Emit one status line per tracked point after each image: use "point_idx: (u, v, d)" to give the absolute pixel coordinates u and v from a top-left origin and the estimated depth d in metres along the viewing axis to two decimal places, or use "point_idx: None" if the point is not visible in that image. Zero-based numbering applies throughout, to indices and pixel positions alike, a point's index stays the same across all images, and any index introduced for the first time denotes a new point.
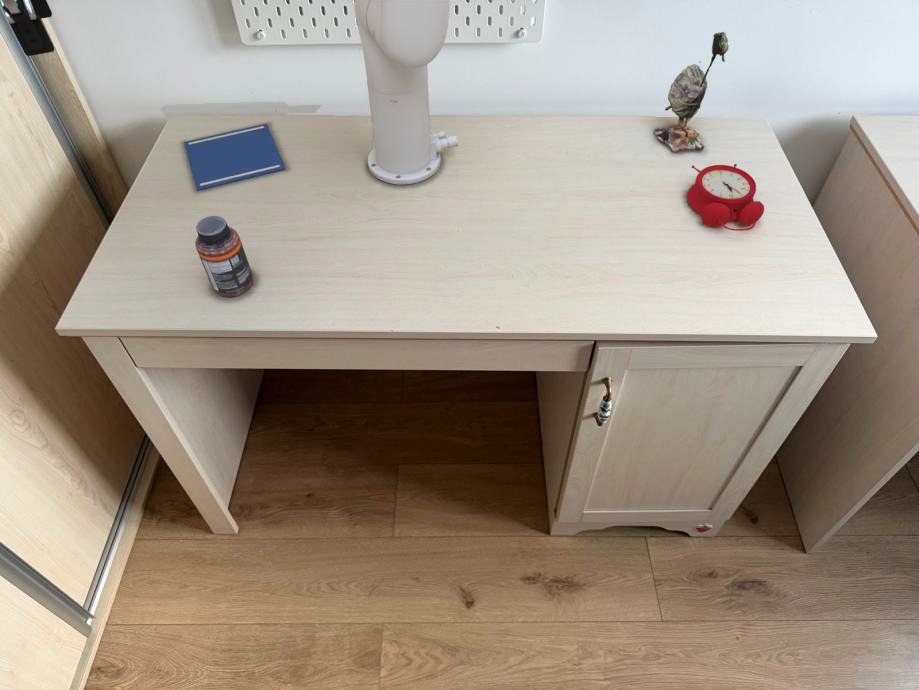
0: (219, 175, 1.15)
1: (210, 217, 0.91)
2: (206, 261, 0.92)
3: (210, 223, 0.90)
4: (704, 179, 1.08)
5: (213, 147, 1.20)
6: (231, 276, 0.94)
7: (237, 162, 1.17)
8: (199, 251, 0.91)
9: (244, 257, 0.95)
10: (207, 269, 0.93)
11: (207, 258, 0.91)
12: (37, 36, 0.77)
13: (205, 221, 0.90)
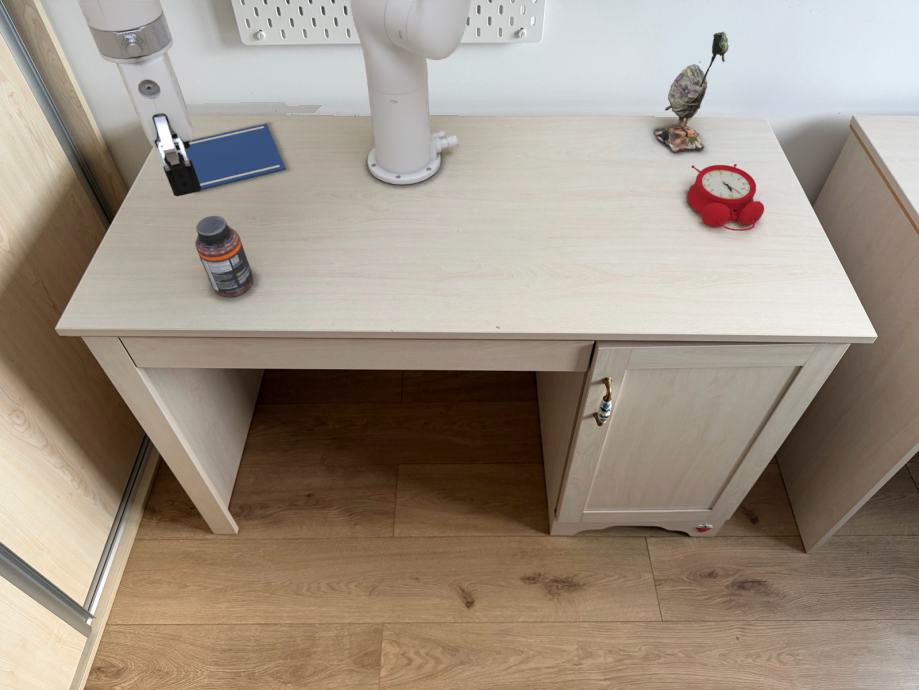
0: (219, 175, 1.15)
1: (210, 217, 0.91)
2: (206, 261, 0.92)
3: (210, 223, 0.90)
4: (704, 179, 1.08)
5: (213, 147, 1.20)
6: (231, 276, 0.94)
7: (237, 162, 1.17)
8: (199, 251, 0.91)
9: (244, 257, 0.95)
10: (207, 269, 0.93)
11: (207, 258, 0.91)
12: (188, 180, 0.79)
13: (205, 221, 0.90)
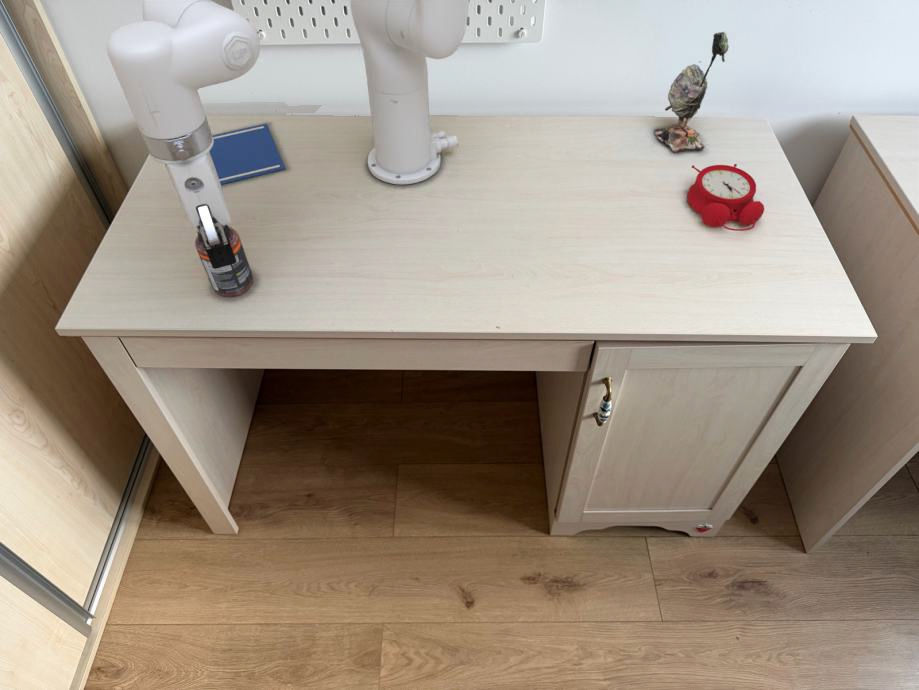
0: (219, 175, 1.15)
1: None
2: (206, 260, 0.92)
3: None
4: (704, 179, 1.08)
5: (213, 147, 1.20)
6: (231, 276, 0.94)
7: (237, 162, 1.17)
8: (199, 251, 0.91)
9: (244, 257, 0.95)
10: (207, 269, 0.93)
11: (206, 258, 0.91)
12: (226, 255, 0.89)
13: None
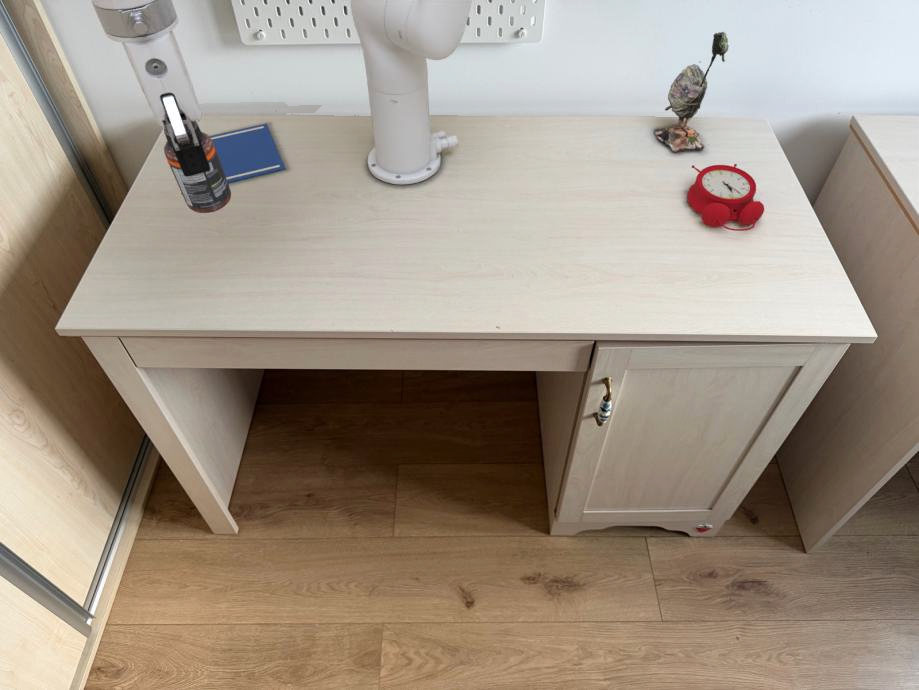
0: None
1: None
2: (176, 168, 0.82)
3: None
4: (704, 179, 1.08)
5: None
6: (205, 187, 0.85)
7: (237, 162, 1.17)
8: (168, 157, 0.82)
9: (219, 167, 0.85)
10: (178, 179, 0.84)
11: (177, 165, 0.82)
12: (198, 160, 0.80)
13: None
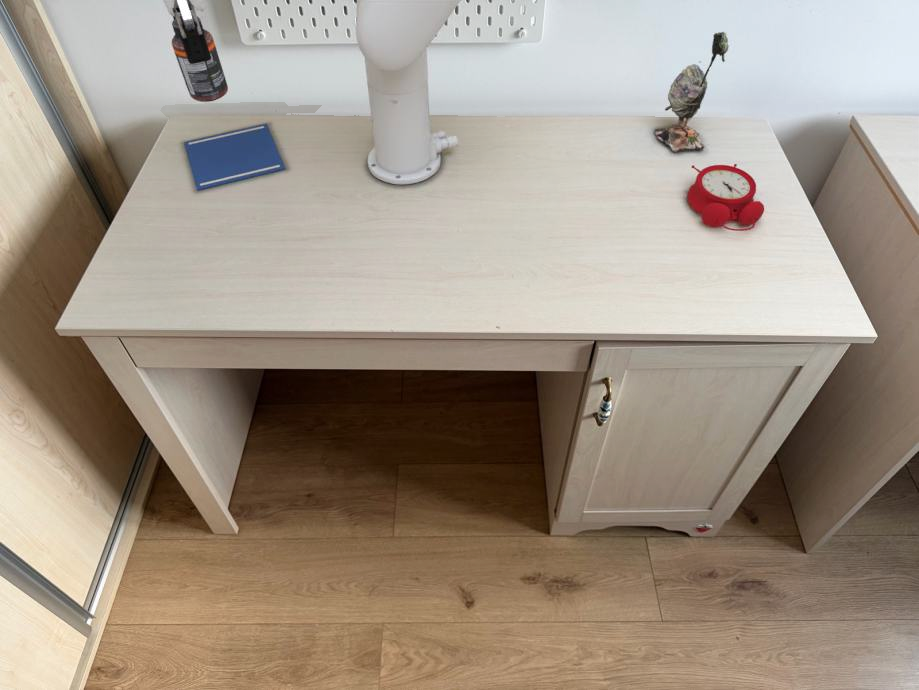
0: (219, 175, 1.15)
1: None
2: (182, 57, 0.98)
3: None
4: (704, 179, 1.08)
5: (213, 147, 1.20)
6: (206, 76, 1.00)
7: (237, 162, 1.17)
8: (175, 47, 0.97)
9: (218, 60, 1.01)
10: (183, 69, 1.00)
11: (182, 54, 0.98)
12: (201, 48, 0.96)
13: None
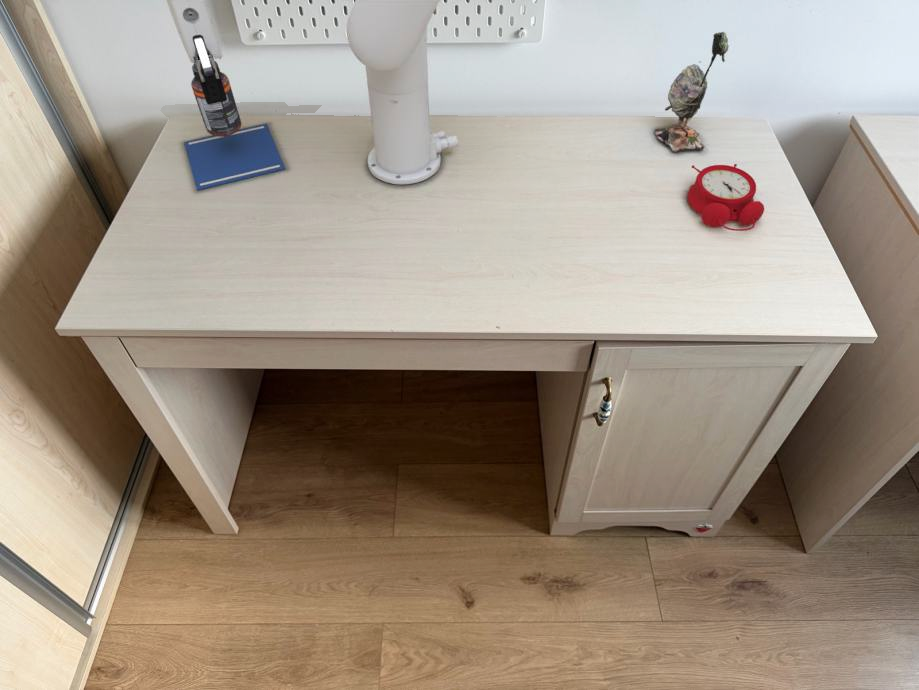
0: (219, 175, 1.15)
1: None
2: (200, 98, 1.08)
3: None
4: (704, 179, 1.08)
5: (213, 147, 1.20)
6: (222, 115, 1.10)
7: (237, 162, 1.17)
8: (194, 89, 1.07)
9: (233, 99, 1.11)
10: (201, 108, 1.09)
11: (201, 95, 1.07)
12: (218, 90, 1.05)
13: None
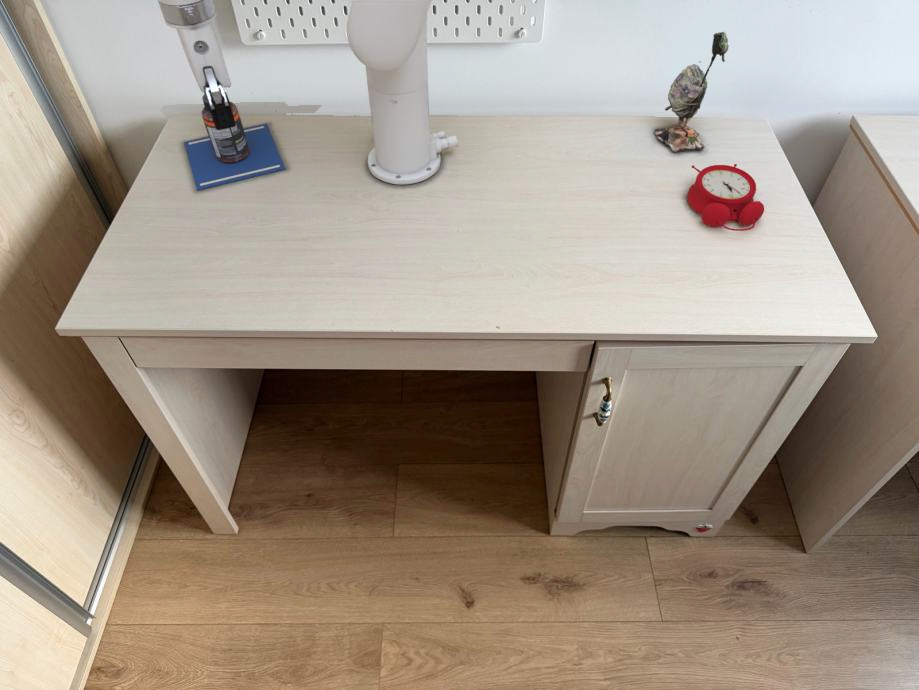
0: (219, 175, 1.15)
1: None
2: (210, 127, 1.12)
3: None
4: (704, 179, 1.08)
5: None
6: (231, 142, 1.14)
7: (237, 162, 1.17)
8: (205, 118, 1.11)
9: (241, 127, 1.15)
10: (211, 136, 1.13)
11: (211, 125, 1.11)
12: (227, 117, 1.07)
13: None
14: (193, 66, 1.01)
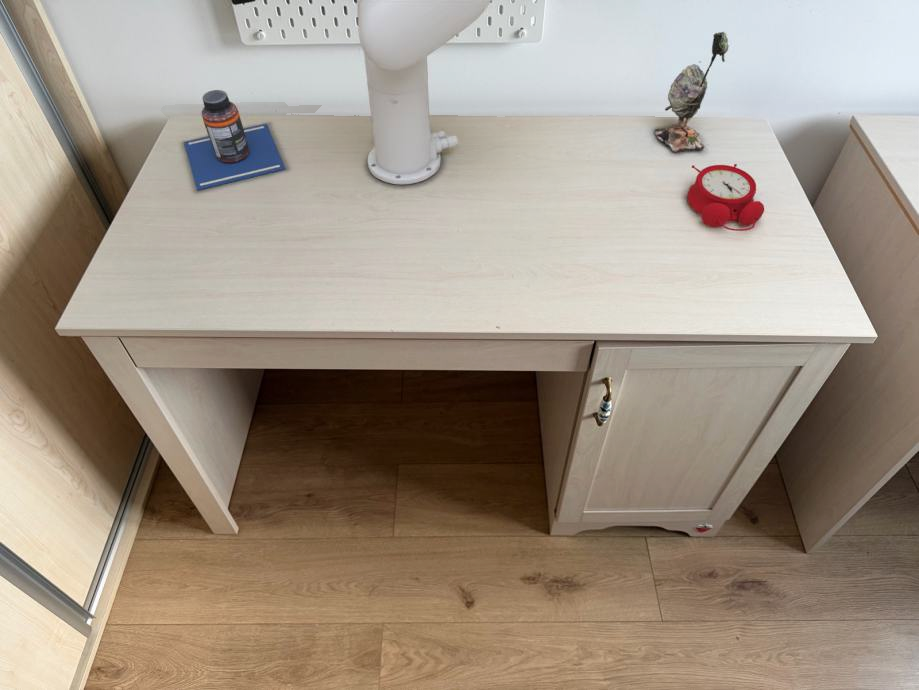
0: (219, 175, 1.15)
1: (214, 91, 1.11)
2: (210, 127, 1.12)
3: (214, 95, 1.10)
4: (704, 179, 1.08)
5: None
6: (231, 142, 1.14)
7: (237, 162, 1.17)
8: (205, 118, 1.11)
9: (241, 128, 1.15)
10: (211, 136, 1.13)
11: (211, 125, 1.11)
12: None
13: (209, 94, 1.10)
14: None
